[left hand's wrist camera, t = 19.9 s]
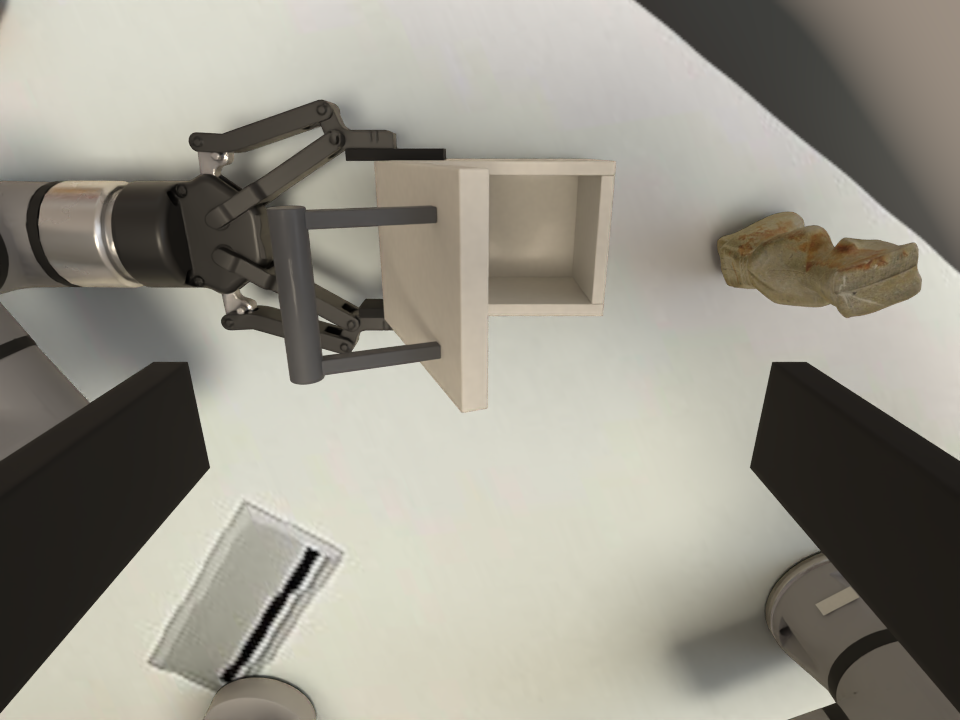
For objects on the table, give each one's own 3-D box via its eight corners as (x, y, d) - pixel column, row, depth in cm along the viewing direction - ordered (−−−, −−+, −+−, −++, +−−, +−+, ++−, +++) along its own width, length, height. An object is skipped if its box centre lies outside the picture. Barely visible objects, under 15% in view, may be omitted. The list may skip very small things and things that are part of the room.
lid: (490, 168, 21) (263, 170, 18) (488, 409, 24) (300, 443, 21) (394, 160, 34) (255, 161, 31) (402, 317, 37) (279, 331, 35)
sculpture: (796, 266, 46) (935, 317, 32) (712, 291, 47) (811, 350, 33) (790, 199, 44) (935, 221, 30) (702, 225, 45) (803, 259, 31)
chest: (588, 158, 43) (616, 161, 34) (579, 284, 47) (602, 316, 38) (405, 158, 43) (385, 160, 34) (411, 284, 47) (394, 315, 38)
